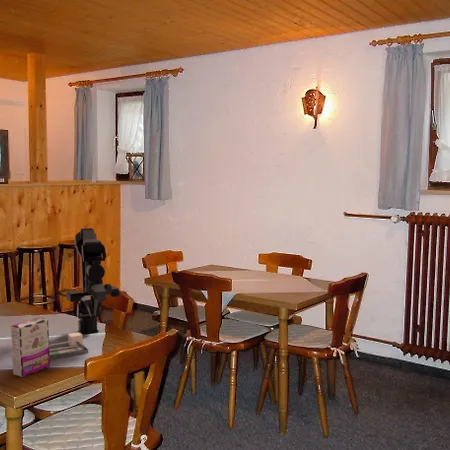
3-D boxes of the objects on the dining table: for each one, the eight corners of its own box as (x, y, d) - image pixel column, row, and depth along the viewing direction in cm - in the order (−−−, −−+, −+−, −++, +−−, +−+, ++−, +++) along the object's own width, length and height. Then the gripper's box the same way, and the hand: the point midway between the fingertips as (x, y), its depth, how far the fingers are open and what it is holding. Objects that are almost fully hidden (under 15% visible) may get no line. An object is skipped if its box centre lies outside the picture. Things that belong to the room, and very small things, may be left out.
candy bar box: (40, 364, 182) (39, 316, 181) (50, 367, 180) (49, 319, 178) (11, 374, 173) (10, 324, 171) (21, 378, 170) (20, 327, 168)
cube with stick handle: (79, 342, 201) (79, 332, 200) (85, 348, 194) (85, 337, 194) (68, 344, 199) (68, 334, 198) (74, 350, 192) (74, 339, 192)
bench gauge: (76, 342, 205) (76, 329, 204) (88, 352, 194) (88, 338, 194) (24, 351, 195) (24, 337, 194) (33, 362, 184) (33, 347, 183)
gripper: (74, 281, 187) (75, 325, 189) (125, 276, 198) (125, 318, 199) (65, 276, 197) (66, 318, 198) (114, 271, 207) (114, 311, 208)
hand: (93, 316), depth 201 cm, fingers closed
